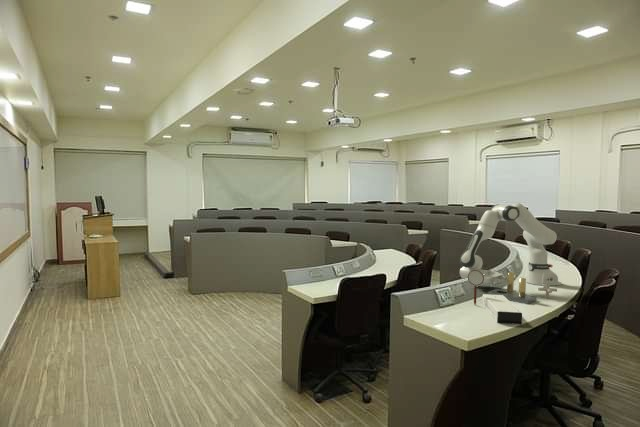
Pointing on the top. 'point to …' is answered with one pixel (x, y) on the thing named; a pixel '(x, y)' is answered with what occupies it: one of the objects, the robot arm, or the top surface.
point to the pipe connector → (547, 289)
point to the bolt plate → (515, 296)
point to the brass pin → (510, 281)
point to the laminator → (502, 309)
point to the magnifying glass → (475, 280)
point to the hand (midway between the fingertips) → (504, 280)
